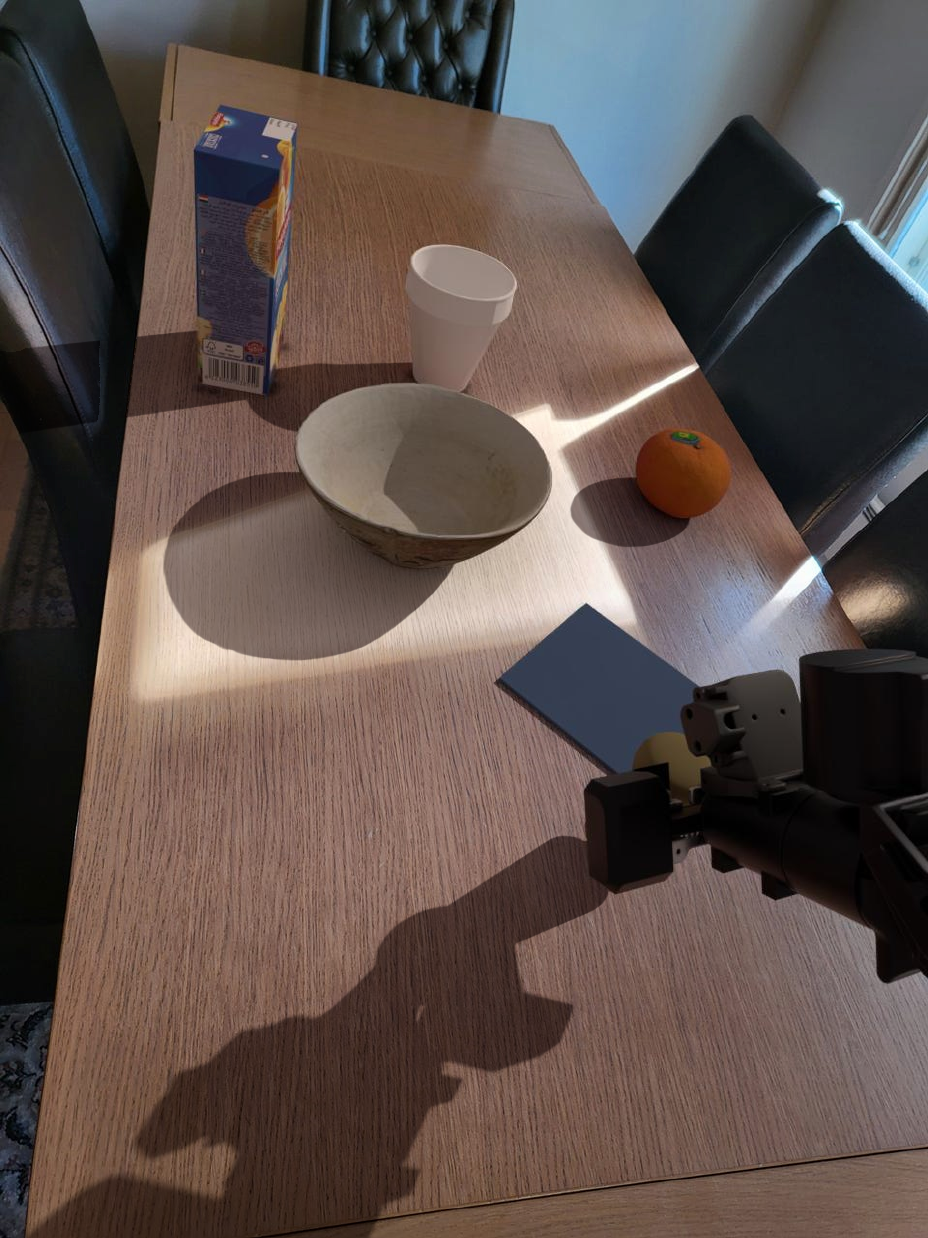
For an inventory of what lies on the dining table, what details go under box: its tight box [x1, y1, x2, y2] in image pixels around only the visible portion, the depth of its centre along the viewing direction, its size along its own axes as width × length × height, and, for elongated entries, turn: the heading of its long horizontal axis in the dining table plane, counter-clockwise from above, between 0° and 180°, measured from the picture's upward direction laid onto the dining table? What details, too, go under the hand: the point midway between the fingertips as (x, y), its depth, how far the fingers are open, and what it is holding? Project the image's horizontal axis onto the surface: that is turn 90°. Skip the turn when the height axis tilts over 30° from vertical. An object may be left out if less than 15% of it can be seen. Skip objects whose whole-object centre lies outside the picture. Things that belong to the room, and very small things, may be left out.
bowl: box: [293, 382, 553, 569], centre depth 79 cm, size 24×24×10 cm
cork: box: [583, 732, 711, 840], centre depth 57 cm, size 6×6×11 cm
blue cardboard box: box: [193, 104, 298, 396], centre depth 86 cm, size 12×8×24 cm, turn 0°
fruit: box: [635, 428, 732, 519], centre depth 92 cm, size 11×10×8 cm
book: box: [498, 602, 701, 775], centre depth 74 cm, size 16×14×1 cm
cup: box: [404, 244, 518, 393], centre depth 96 cm, size 12×12×14 cm
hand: (648, 774), depth 58 cm, fingers closed on cork, 5 cm apart
